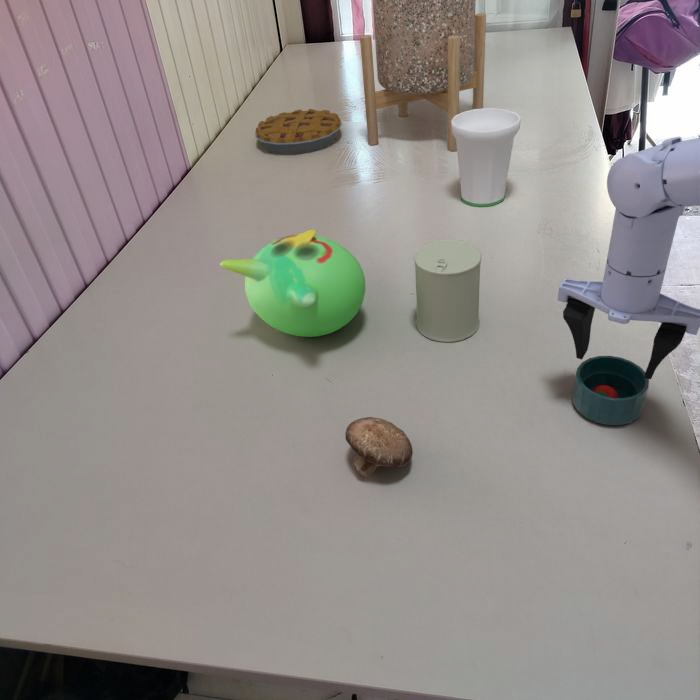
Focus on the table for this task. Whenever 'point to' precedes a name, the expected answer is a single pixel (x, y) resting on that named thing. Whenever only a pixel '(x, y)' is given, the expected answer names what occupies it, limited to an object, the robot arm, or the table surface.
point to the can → (447, 290)
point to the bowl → (620, 378)
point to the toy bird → (302, 284)
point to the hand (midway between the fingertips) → (614, 363)
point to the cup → (484, 153)
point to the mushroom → (377, 445)
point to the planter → (423, 57)
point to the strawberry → (605, 391)
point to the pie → (298, 131)
